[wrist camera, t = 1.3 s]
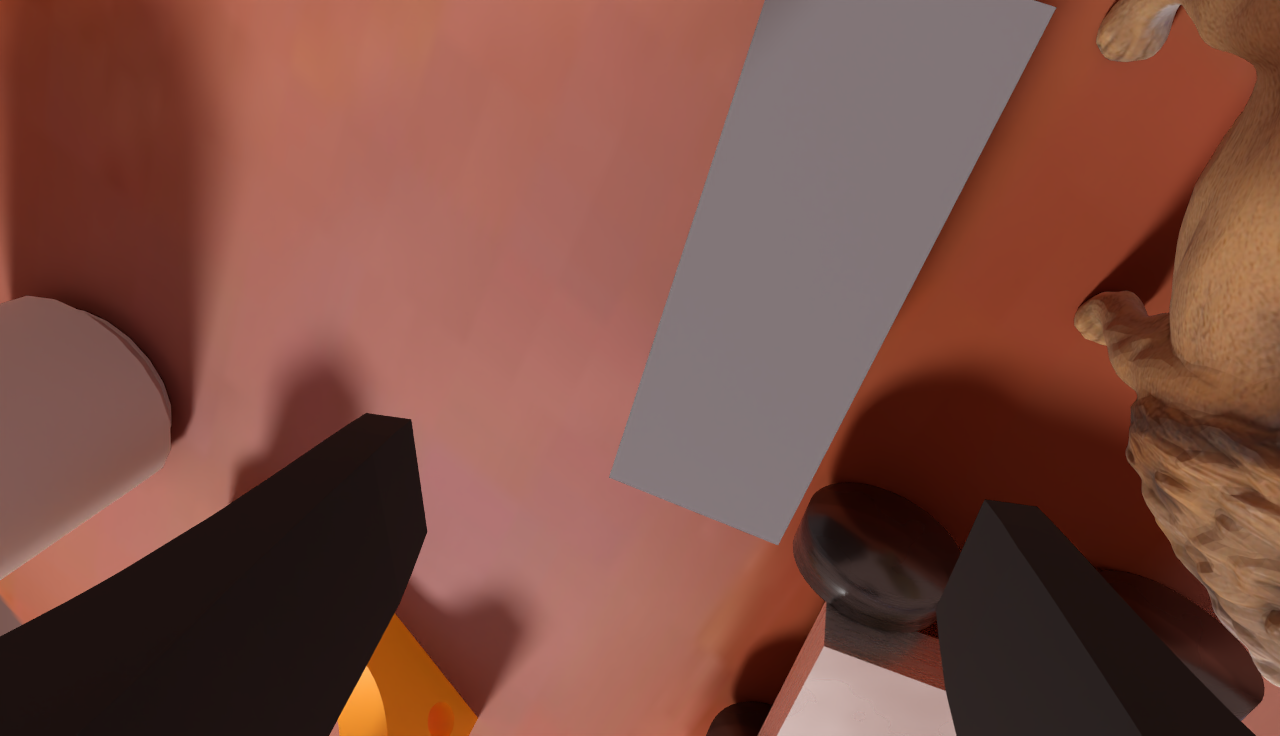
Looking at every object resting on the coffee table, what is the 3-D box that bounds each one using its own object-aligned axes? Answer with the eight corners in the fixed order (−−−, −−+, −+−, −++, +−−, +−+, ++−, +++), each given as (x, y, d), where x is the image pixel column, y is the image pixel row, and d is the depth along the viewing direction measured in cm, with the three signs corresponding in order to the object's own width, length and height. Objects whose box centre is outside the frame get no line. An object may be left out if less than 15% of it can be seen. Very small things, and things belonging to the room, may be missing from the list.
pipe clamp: (230, 517, 29) (79, 644, 23) (300, 487, 27) (154, 618, 21) (406, 727, 32) (311, 882, 26) (479, 714, 30) (394, 877, 25)
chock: (998, 1, 15) (1056, 7, 10) (795, 427, 20) (777, 545, 16) (809, -58, 15) (790, -77, 11) (660, 375, 21) (608, 477, 16)
